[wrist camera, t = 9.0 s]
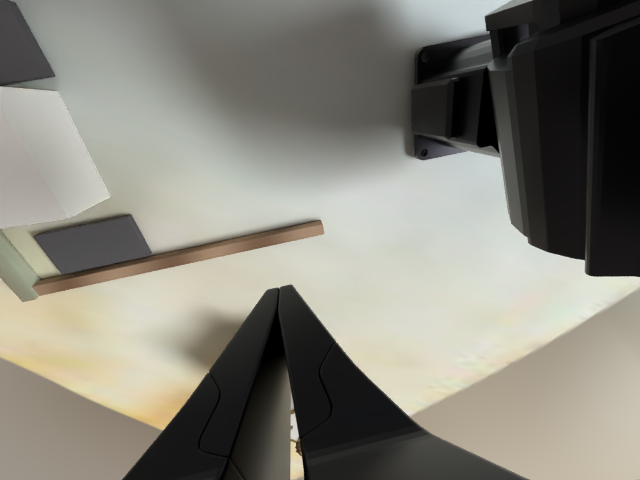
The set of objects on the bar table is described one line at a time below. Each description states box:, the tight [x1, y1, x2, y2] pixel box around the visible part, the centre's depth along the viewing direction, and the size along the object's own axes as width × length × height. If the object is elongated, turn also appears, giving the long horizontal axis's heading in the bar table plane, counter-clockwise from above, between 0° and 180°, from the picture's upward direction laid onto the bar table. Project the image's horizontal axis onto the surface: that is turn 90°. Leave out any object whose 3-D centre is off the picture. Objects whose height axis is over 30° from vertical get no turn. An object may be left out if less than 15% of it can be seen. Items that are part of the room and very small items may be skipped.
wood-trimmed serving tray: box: [0, 220, 324, 302], centre depth 15 cm, size 21×16×1 cm
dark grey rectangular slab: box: [0, 0, 152, 274], centre depth 15 cm, size 6×14×1 cm, turn 10°
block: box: [0, 86, 110, 229], centre depth 14 cm, size 6×6×4 cm
